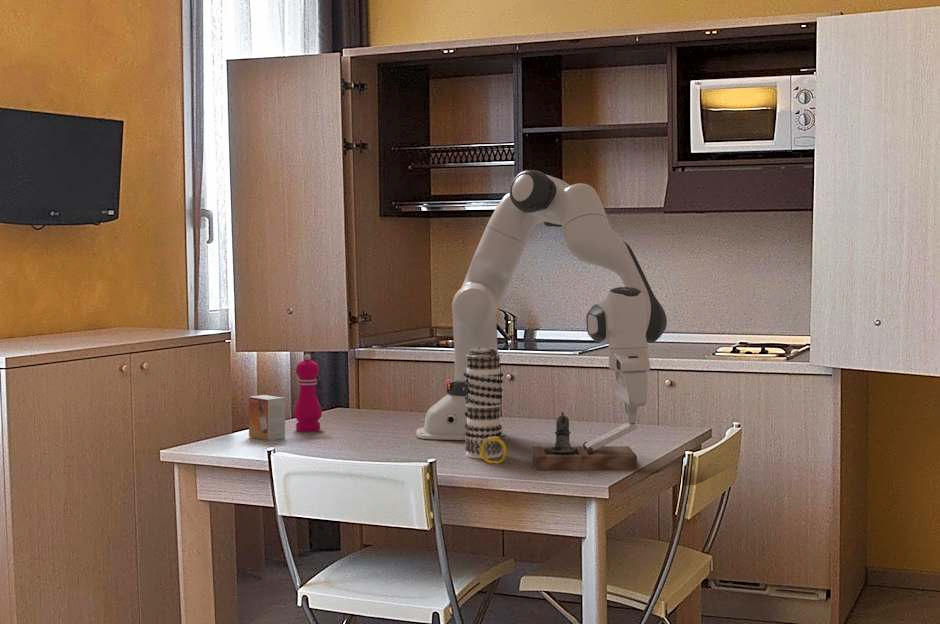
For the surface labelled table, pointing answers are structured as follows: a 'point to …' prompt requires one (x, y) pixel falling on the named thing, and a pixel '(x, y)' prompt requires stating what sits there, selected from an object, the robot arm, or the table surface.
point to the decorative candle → (483, 402)
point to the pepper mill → (307, 397)
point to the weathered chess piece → (562, 437)
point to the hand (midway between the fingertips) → (631, 421)
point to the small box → (267, 417)
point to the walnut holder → (586, 459)
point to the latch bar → (611, 436)
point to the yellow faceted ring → (496, 438)
